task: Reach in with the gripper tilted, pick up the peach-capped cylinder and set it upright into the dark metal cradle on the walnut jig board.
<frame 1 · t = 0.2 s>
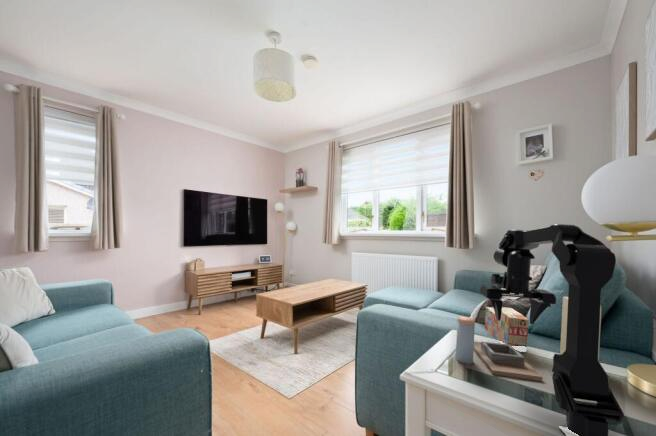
hand: (514, 321, 83), 14 cm above the table, tool pointing down, fingers open, 9 cm apart
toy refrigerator: (579, 367, 86), on the table
jig board: (501, 360, 88), on the table
peach-capped cylinder: (464, 359, 87), on the table
stack of blocks: (503, 340, 105), on the table, touching jig board
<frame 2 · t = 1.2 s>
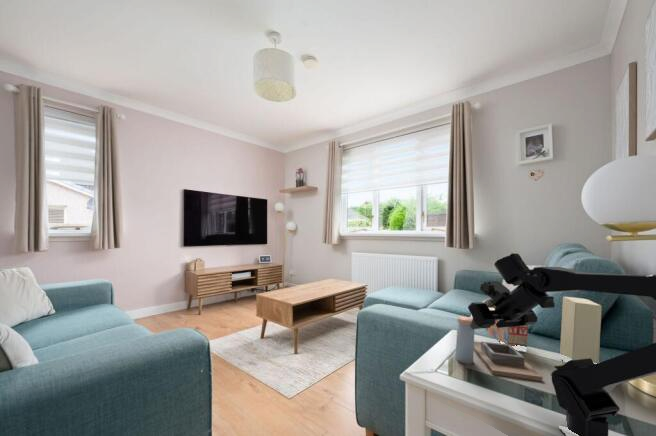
hand: (484, 326, 80), 13 cm above the table, tool tilted 45°, fingers open, 9 cm apart
nothing on the table moved.
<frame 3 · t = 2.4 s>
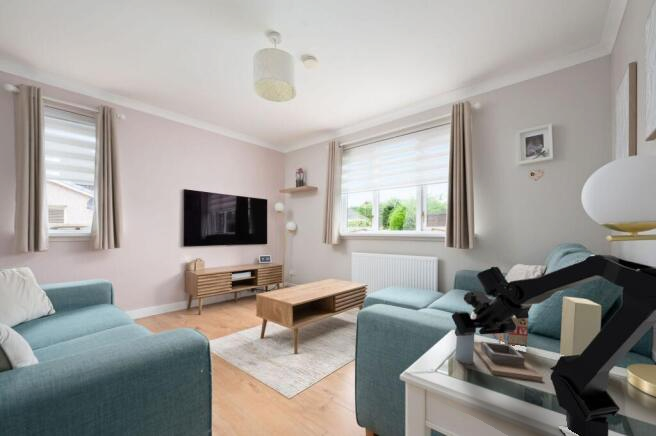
hand: (467, 333, 86), 9 cm above the table, tool tilted 45°, fingers open, 9 cm apart
nothing on the table moved.
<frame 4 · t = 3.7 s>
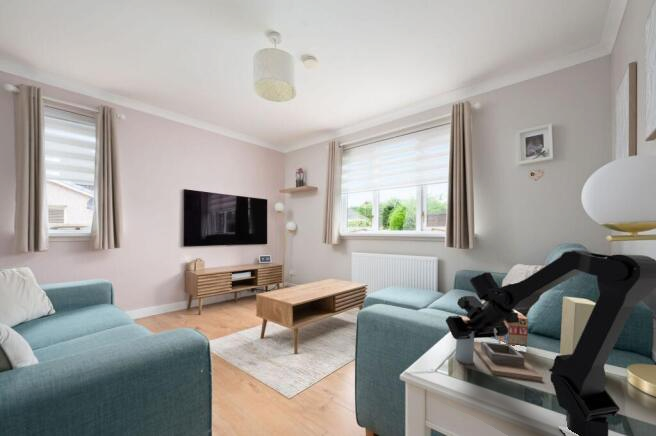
hand: (462, 337, 88), 7 cm above the table, tool tilted 45°, fingers closed on peach-capped cylinder, 5 cm apart
peach-capped cylinder: (464, 359, 87), on the table, touching gripper
everything else where it was.
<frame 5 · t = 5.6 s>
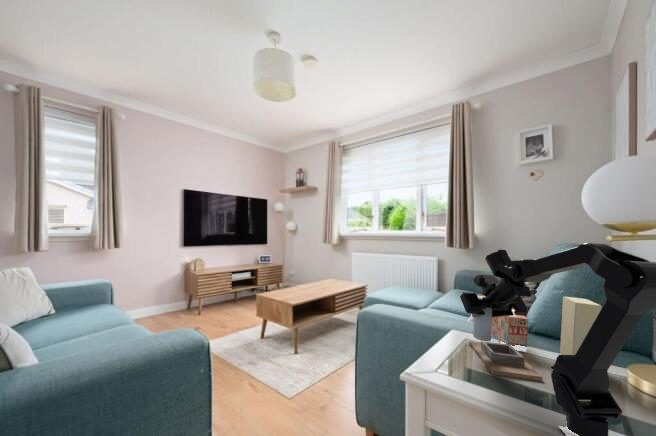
hand: (480, 316, 89), 13 cm above the table, tool tilted 45°, fingers closed on peach-capped cylinder, 5 cm apart
peach-capped cylinder: (482, 337, 88), point 7 cm above the table, touching gripper
everything else where it was.
when the fingers open (9 cm above the table, at t = 7.5 s): peach-capped cylinder drops 1 cm, resting on jig board.
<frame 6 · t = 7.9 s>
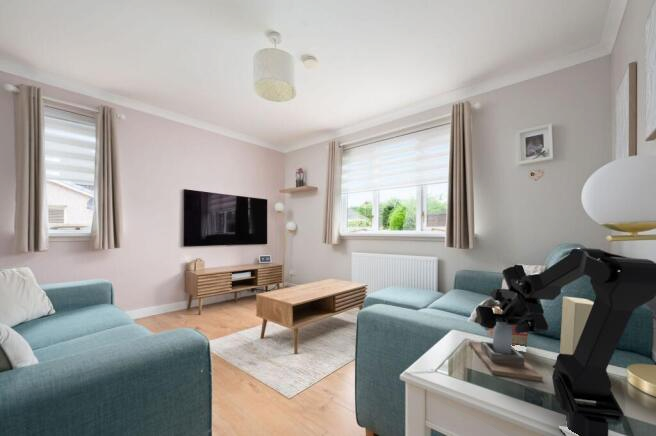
hand: (500, 330, 89), 9 cm above the table, tool tilted 45°, fingers open, 9 cm apart
peach-capped cylinder: (501, 356, 88), point 1 cm above the table, touching jig board
everything else where it was.
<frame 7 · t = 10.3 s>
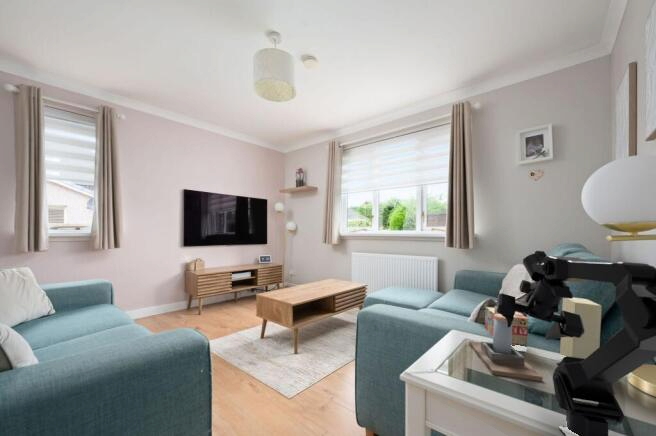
hand: (526, 331, 78), 13 cm above the table, tool tilted 35°, fingers open, 9 cm apart
nothing on the table moved.
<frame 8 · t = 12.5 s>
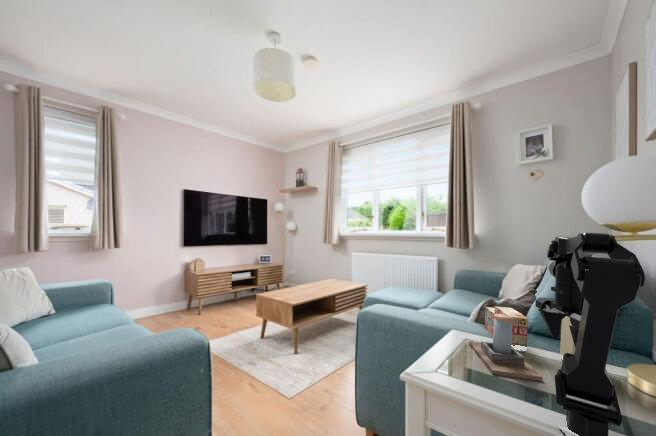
hand: (567, 346, 70), 13 cm above the table, tool pointing down, fingers open, 9 cm apart
nothing on the table moved.
at the end: peach-capped cylinder 0.1 cm off-centre on the jig board, point 1.2 cm above the jig board's base; peach-capped cylinder tilted 0°; the gripper is holding nothing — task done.
